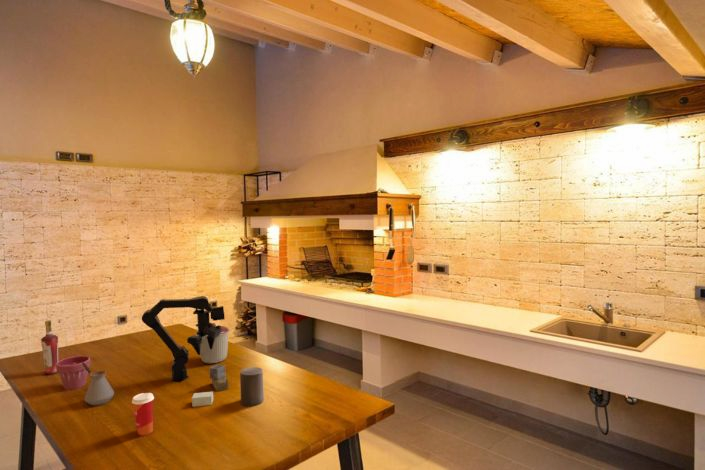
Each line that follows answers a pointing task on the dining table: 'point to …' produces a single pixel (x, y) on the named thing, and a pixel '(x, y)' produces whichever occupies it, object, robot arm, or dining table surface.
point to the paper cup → (143, 413)
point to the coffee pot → (98, 388)
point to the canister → (215, 347)
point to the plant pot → (73, 371)
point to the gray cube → (217, 372)
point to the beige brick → (202, 399)
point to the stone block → (220, 384)
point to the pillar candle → (251, 386)
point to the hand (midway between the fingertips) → (205, 351)
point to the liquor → (50, 349)
